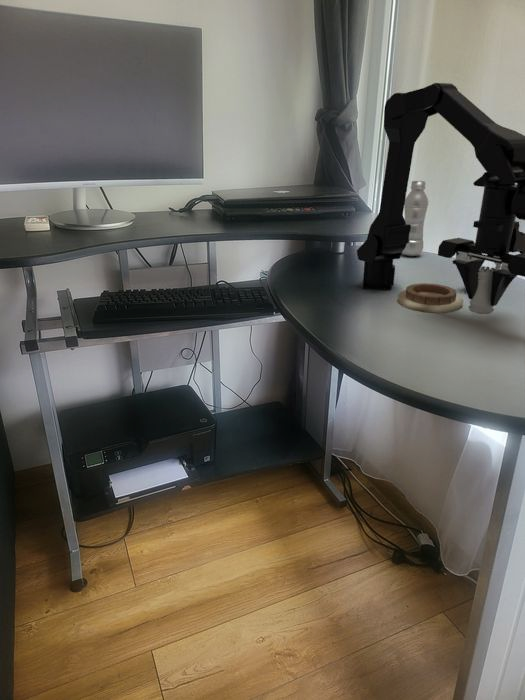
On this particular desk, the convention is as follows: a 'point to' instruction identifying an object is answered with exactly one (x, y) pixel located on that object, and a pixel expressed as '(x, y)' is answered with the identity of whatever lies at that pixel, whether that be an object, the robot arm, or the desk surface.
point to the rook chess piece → (483, 293)
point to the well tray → (430, 298)
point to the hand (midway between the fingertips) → (482, 302)
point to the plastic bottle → (415, 217)
